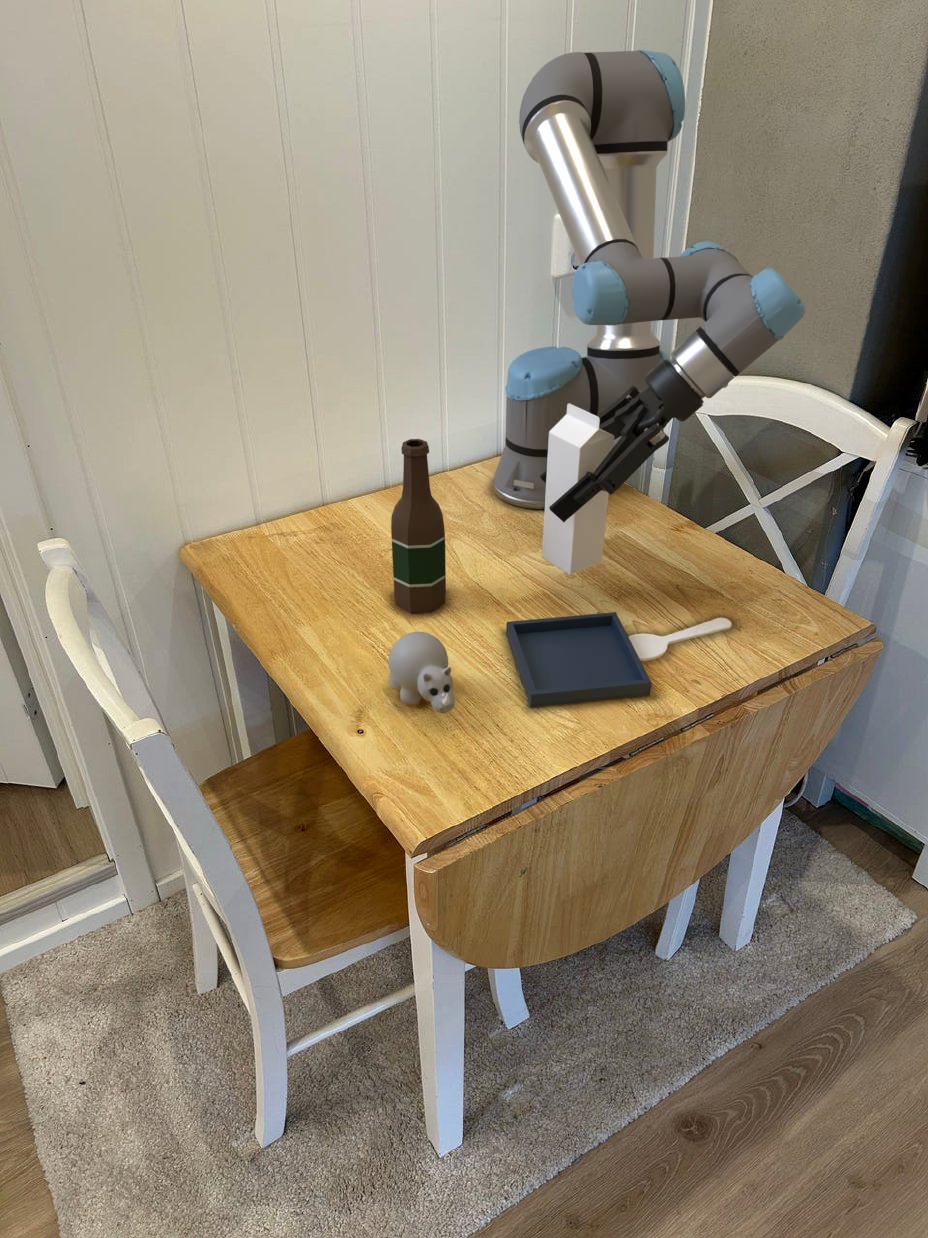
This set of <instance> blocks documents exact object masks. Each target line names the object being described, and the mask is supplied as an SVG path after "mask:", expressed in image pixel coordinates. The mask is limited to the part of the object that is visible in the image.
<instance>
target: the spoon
mask: <svg viewBox="0 0 928 1238" xmlns="http://www.w3.org/2000/svg"><path fill="white" fill-rule="evenodd" d="M732 625H733V624H732V621H731V620H730V619H728V618H725V617H722V616H720V617H717V618H714V619H712V620H708V621H705V622H702V623H699V624H696V625H693V626H690V627H688V628H685V629H682V630H678V631H675V632H673V633H669V634H667V635H661V636H660V635H658V634H652V633H641V632H640V633H634V634H632V635H628V637H629V639H630V641H631V643H632V645H633V647H634V649H635V651H636V653H637V654H638V656H639V658H640V660H641V662H645V661H646V662H647V661H653V660H656V659H660V658H661V657H662V656H664V655H665V654H666V653H667V651H668V646H669V645H671V644H675V643H679V642H683V641H686V640H692V639H694V638H699V637H703V636H707V635H711V634H715V633H719V632H724V631H727V630H730V629H731V628H732Z"/></svg>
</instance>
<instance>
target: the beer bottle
mask: <svg viewBox="0 0 928 1238" xmlns="http://www.w3.org/2000/svg"><path fill="white" fill-rule="evenodd" d="M400 451H401V454H402V455H403V470H402V471H403V472H402V475H403V477H402V492H401V497H400V498H399V500H398V501H397V503H396V504H395V505H394V508H393V511H392V514H391V519H390V530H391V531H390V532H391V555H392V556H391V557H392V574H393V595H394V602H395V606H396V607H398V608H400V609H402V610H404V611H406V612H408V613H410V614H422V613H425V614H426V613H433V612H434V611H436V610H437V609H439V608H441V607H442V606H443V605H445V604H446V598H447V597H446V596H447V580H446V579H447V576H446V575H447V574H446V573H447V570H446V569H447V568H446V532H445V521H444V515H443V511H442V509H441V506H440V504H439V502H437V501H436V499H435V498H434V497H433V495H432V491H431V484H430V474H429V473H430V472H429V462H428V454H430V447H429V444H428V441H426V440H424V439H421V438H409V439H407V440H405V441H403V442H402V445H401V449H400Z"/></svg>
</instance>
